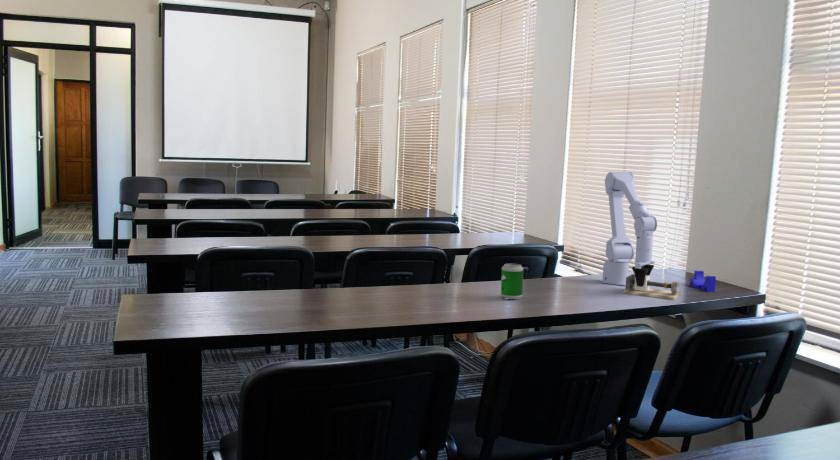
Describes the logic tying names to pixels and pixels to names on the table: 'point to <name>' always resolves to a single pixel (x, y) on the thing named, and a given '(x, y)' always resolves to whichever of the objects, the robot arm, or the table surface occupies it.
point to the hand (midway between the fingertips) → (642, 285)
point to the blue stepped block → (703, 282)
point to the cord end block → (645, 286)
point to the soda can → (512, 281)
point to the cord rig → (653, 292)
